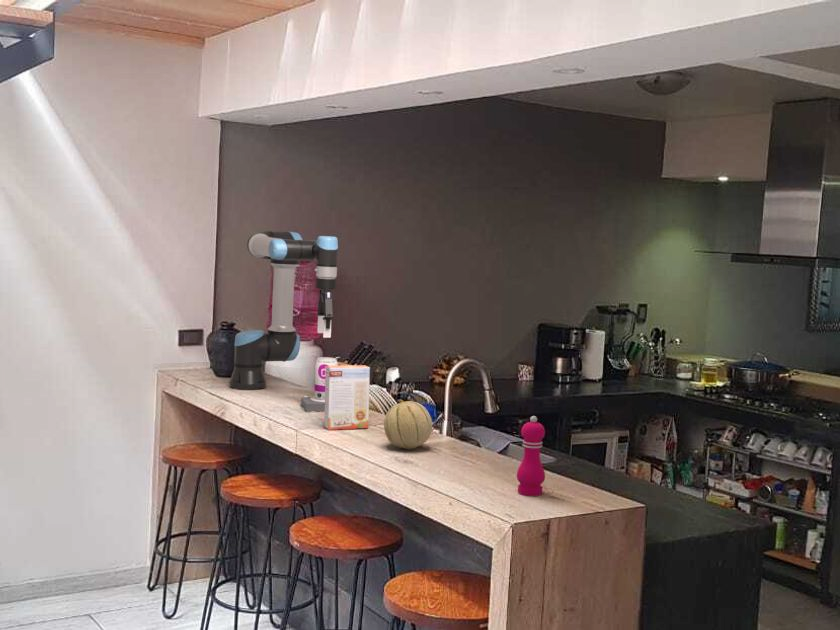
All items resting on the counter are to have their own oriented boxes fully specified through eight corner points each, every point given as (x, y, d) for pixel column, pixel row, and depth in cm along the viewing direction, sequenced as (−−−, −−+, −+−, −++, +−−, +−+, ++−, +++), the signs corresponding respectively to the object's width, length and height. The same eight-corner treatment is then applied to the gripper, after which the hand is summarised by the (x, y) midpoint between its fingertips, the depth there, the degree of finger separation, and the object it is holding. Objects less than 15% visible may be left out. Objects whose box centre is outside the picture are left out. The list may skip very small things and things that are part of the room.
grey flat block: (300, 405, 363) (301, 395, 362) (342, 404, 367) (343, 395, 366) (306, 411, 349) (306, 401, 349) (349, 411, 353) (350, 401, 353)
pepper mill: (545, 491, 251) (549, 414, 249) (542, 498, 244) (546, 419, 242) (518, 488, 252) (521, 412, 251) (513, 495, 245) (517, 417, 244)
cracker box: (363, 425, 328) (365, 364, 326) (368, 429, 322) (370, 367, 321) (323, 427, 323) (325, 364, 321) (327, 430, 317) (329, 367, 316)
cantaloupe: (434, 454, 289) (436, 404, 288) (385, 453, 287) (387, 403, 286) (427, 443, 304) (429, 396, 302) (380, 443, 301) (382, 395, 300)
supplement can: (335, 401, 353) (336, 360, 352) (312, 400, 354) (314, 359, 352) (337, 397, 362) (339, 357, 360) (315, 396, 362) (317, 356, 361)
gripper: (311, 275, 368) (309, 330, 370) (321, 280, 344) (319, 339, 346) (330, 276, 370) (328, 331, 372) (342, 280, 346) (339, 339, 348)
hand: (323, 335), depth 359 cm, fingers open, 13 cm apart
